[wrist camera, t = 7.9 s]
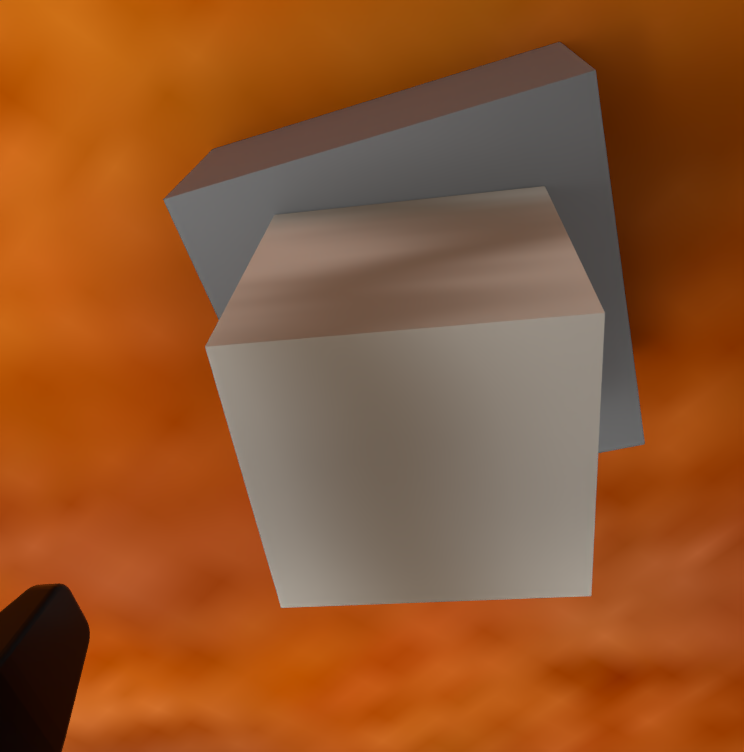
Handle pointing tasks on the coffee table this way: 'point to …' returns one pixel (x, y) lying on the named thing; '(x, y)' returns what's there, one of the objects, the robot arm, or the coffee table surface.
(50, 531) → the coffee table surface
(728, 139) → the coffee table surface
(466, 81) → the slate base block
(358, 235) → the cream cube
